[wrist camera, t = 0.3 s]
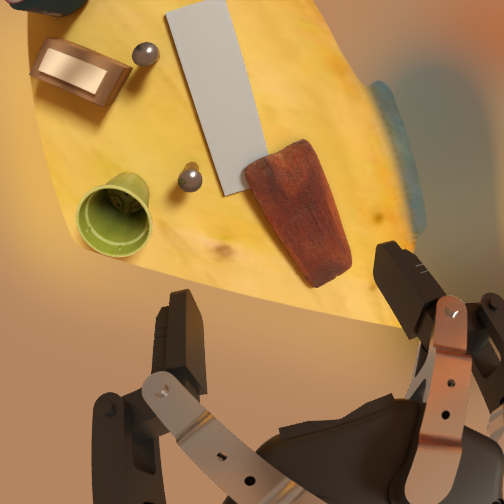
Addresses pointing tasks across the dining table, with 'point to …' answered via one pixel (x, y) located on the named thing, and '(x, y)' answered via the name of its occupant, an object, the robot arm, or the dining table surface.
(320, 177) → the brown flat slab
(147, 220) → the plant pot
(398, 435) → the robot arm
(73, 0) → the soda can
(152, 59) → the metal screw
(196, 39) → the wall strip
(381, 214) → the dining table surface
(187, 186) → the metal bolt
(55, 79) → the wooden box
